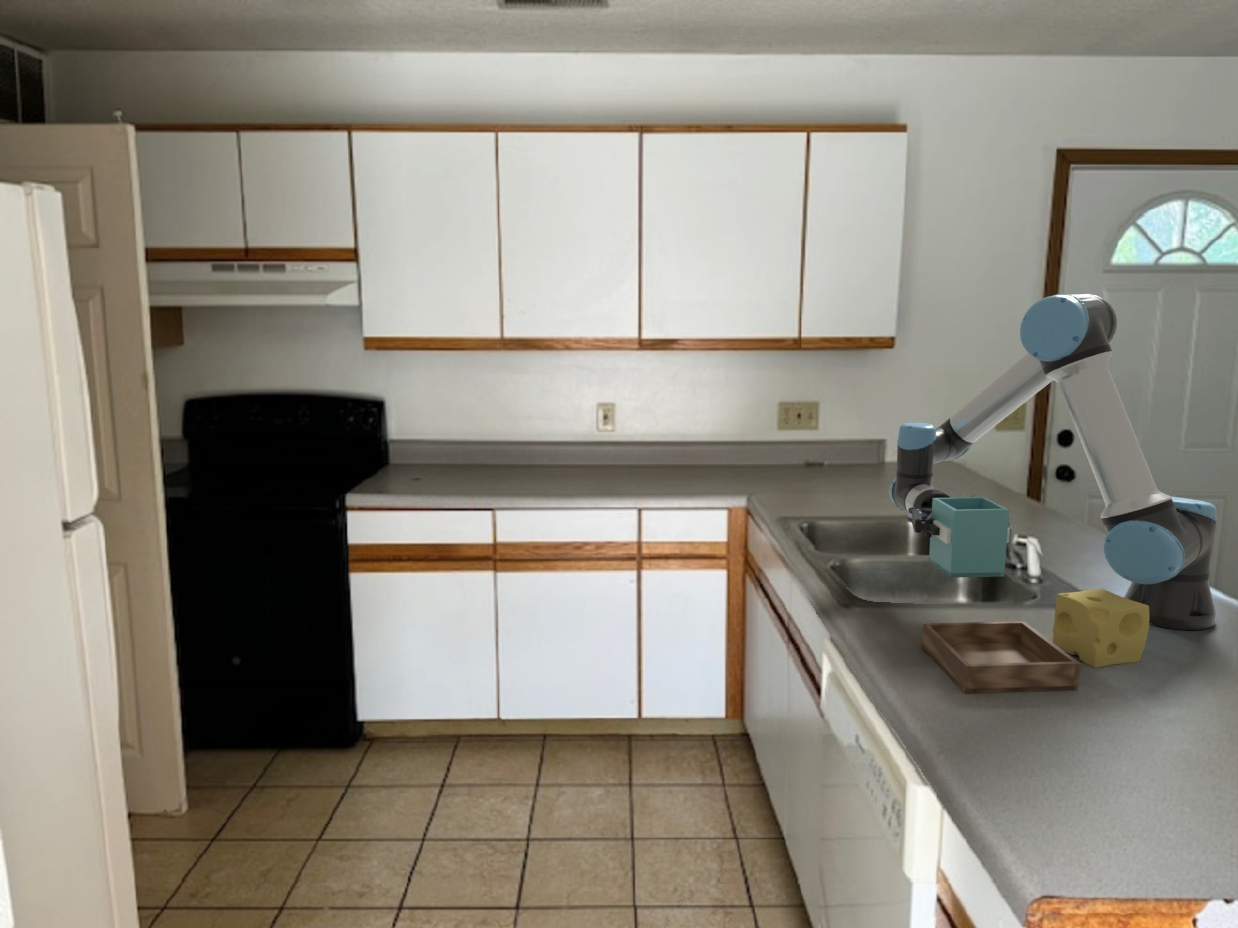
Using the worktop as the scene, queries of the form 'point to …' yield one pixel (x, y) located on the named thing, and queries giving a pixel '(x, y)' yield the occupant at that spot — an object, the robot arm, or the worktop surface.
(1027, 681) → the walnut crate
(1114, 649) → the cheese
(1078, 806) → the worktop surface
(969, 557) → the teal crate
